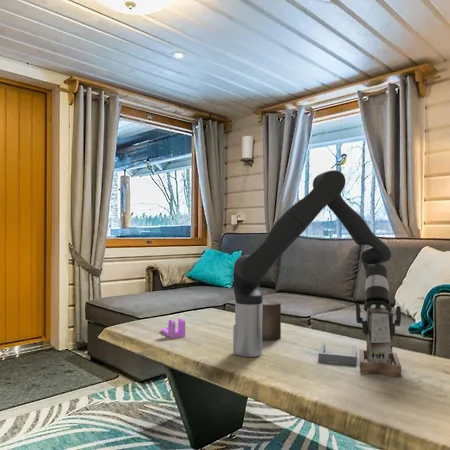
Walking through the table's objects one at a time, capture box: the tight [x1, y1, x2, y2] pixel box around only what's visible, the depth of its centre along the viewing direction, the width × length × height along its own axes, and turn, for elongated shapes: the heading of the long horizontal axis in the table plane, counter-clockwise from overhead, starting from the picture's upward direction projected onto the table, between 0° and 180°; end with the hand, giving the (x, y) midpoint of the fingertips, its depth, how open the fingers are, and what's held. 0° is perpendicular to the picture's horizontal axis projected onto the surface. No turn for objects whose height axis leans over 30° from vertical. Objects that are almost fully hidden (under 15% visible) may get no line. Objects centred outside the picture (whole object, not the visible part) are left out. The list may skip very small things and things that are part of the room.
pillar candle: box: [262, 299, 282, 341], centre depth 158 cm, size 10×10×15 cm
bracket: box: [161, 317, 186, 339], centre depth 162 cm, size 13×6×7 cm, turn 31°
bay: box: [317, 342, 357, 366], centre depth 134 cm, size 11×13×2 cm
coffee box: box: [366, 308, 394, 364], centre depth 124 cm, size 9×6×16 cm
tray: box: [359, 348, 402, 378], centre depth 124 cm, size 11×14×3 cm
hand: (378, 334), depth 125 cm, fingers closed on coffee box, 7 cm apart
